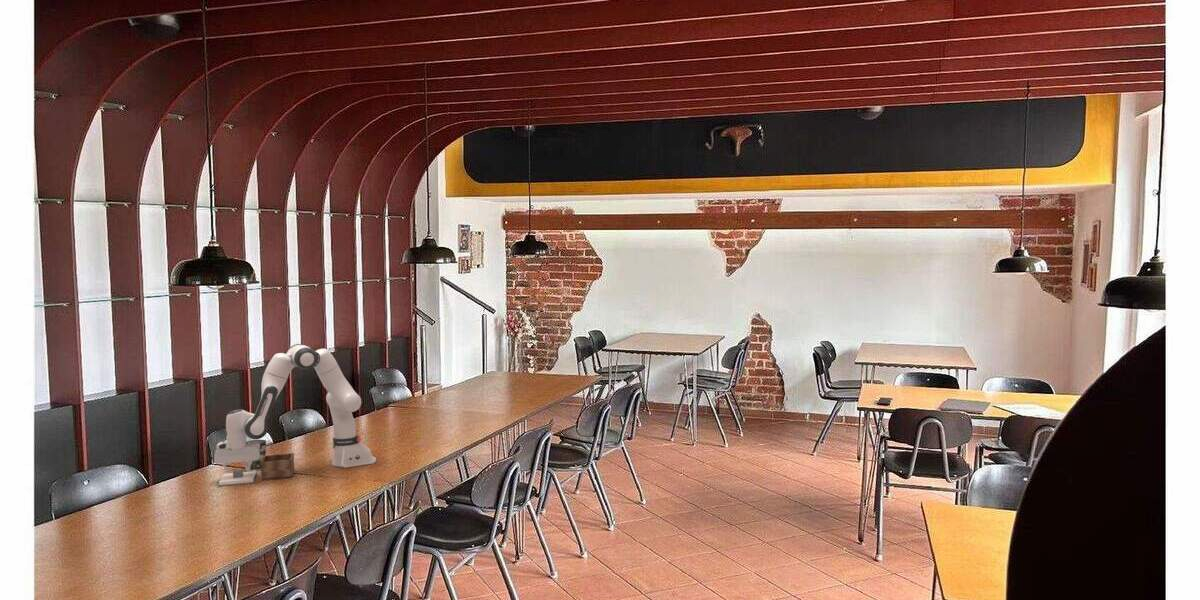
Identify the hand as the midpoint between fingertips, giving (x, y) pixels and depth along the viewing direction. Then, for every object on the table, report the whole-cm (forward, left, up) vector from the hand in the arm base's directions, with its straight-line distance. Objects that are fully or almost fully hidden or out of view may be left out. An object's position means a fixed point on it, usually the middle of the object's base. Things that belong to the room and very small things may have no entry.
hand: (237, 470), depth 378 cm
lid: (0, 0, -4) cm, 4 cm away
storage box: (-18, -2, -5) cm, 19 cm away
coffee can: (-6, -20, -5) cm, 21 cm away
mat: (0, 0, -5) cm, 5 cm away
